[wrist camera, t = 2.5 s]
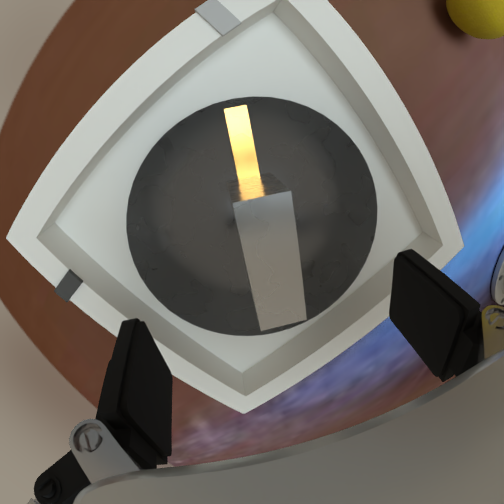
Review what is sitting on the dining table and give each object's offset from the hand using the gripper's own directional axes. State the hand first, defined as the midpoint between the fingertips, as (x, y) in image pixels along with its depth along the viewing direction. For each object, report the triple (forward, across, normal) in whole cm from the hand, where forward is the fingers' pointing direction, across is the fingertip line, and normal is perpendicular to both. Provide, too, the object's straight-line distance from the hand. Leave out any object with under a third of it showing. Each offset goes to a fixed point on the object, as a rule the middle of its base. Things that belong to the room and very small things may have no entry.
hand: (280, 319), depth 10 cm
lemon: (+12, -23, -16) cm, 30 cm away
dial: (+10, -1, 0) cm, 10 cm away
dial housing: (+12, -1, 0) cm, 12 cm away
